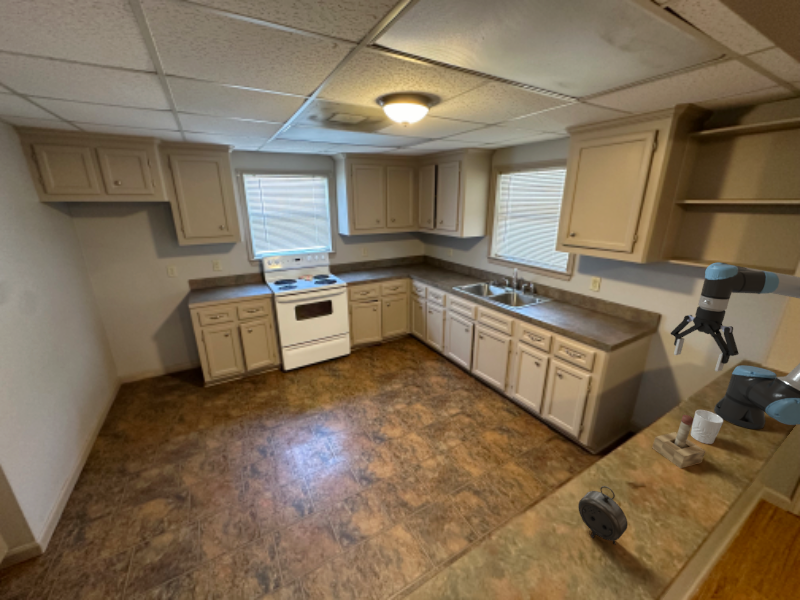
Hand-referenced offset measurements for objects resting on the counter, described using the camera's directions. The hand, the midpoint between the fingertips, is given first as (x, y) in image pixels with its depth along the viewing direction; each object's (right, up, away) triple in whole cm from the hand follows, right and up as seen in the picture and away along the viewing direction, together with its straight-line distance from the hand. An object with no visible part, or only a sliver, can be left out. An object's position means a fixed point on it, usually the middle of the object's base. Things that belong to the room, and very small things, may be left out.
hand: (696, 362), depth 124 cm
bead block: (-11, -33, -4) cm, 35 cm away
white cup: (+6, -30, +4) cm, 31 cm away
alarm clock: (-57, -41, -33) cm, 78 cm away
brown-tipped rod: (-11, -33, -4) cm, 35 cm away
